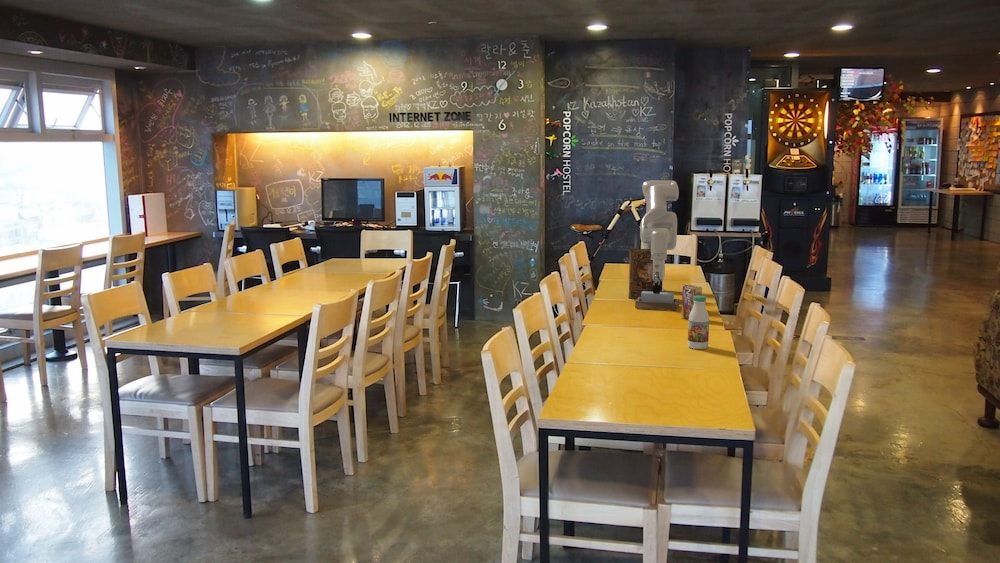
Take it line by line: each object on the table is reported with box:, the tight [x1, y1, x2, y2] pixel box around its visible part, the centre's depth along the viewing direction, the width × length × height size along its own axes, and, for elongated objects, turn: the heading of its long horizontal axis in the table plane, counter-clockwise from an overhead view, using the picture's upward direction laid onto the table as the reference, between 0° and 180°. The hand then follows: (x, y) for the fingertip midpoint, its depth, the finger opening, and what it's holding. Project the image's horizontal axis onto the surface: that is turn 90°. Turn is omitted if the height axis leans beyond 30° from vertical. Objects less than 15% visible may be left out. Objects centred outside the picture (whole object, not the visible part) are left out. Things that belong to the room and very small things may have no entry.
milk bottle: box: [687, 295, 710, 350], centre depth 303 cm, size 8×8×20 cm
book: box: [628, 248, 662, 300], centre depth 401 cm, size 16×6×25 cm, turn 84°
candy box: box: [681, 283, 703, 321], centre depth 353 cm, size 9×4×15 cm, turn 26°
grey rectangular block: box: [641, 291, 675, 303], centre depth 380 cm, size 15×5×4 cm, turn 73°
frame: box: [634, 297, 680, 312], centre depth 380 cm, size 12×19×4 cm, turn 73°
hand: (657, 291), depth 380 cm, fingers open, 9 cm apart
